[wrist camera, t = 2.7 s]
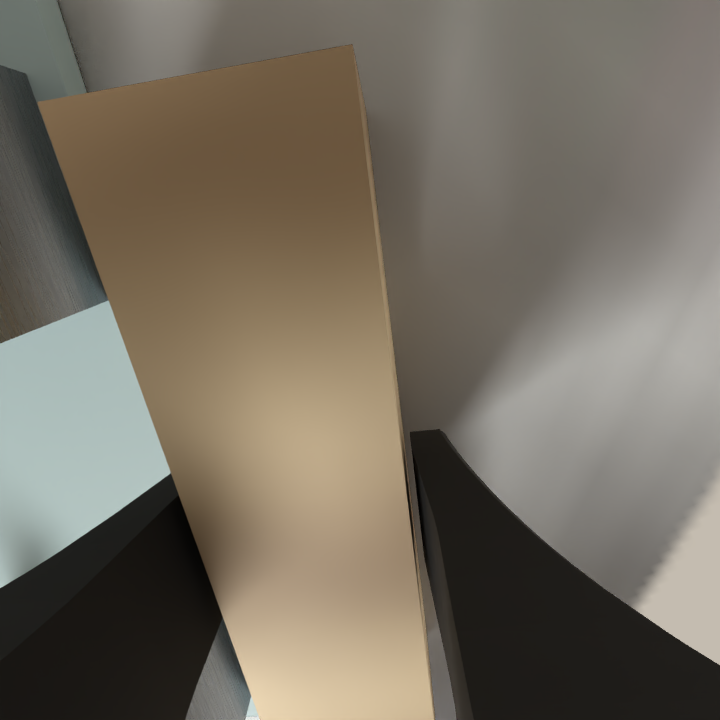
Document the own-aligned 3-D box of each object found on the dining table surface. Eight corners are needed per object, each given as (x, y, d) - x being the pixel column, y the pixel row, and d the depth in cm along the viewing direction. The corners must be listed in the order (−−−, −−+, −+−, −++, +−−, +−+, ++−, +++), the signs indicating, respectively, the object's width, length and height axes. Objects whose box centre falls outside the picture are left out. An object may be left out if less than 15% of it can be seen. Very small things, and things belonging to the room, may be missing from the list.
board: (283, 695, 14) (278, 715, 14) (52, 704, 15) (39, 724, 14) (55, -5, 7) (28, -21, 7) (-346, 81, 8) (-399, 73, 8)
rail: (426, 626, 13) (443, 799, 9) (315, 632, 13) (289, 801, 10) (366, 112, 8) (352, 44, 4) (190, 142, 8) (36, 101, 5)
